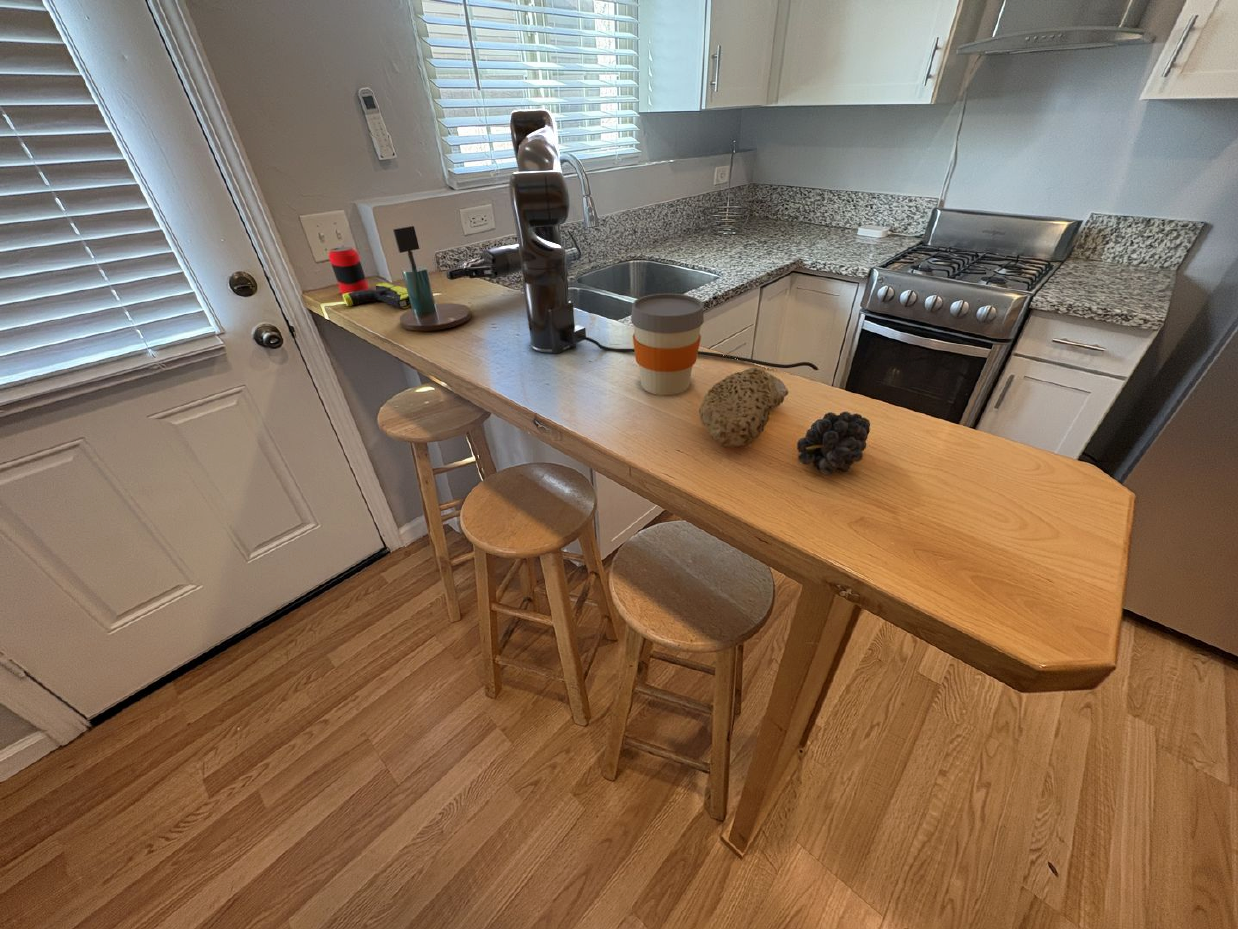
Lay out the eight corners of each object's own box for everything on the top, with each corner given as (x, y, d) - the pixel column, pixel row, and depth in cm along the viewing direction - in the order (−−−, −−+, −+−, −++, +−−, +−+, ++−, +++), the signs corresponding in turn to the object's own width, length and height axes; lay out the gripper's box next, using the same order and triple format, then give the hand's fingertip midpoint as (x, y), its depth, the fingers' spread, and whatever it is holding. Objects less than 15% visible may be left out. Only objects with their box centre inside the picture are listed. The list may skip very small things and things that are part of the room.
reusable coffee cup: (675, 406, 85) (680, 321, 76) (618, 387, 91) (616, 307, 82) (710, 380, 93) (718, 300, 84) (655, 364, 99) (657, 289, 90)
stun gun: (370, 306, 124) (422, 292, 134) (335, 293, 134) (386, 280, 144) (374, 318, 126) (425, 303, 135) (339, 303, 136) (389, 290, 145)
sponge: (733, 396, 90) (665, 416, 76) (750, 357, 85) (682, 371, 72) (793, 434, 83) (732, 463, 70) (815, 394, 79) (754, 417, 66)
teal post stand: (484, 316, 123) (468, 228, 111) (424, 336, 113) (399, 241, 101) (446, 303, 132) (427, 220, 121) (388, 320, 122) (361, 232, 110)
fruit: (859, 379, 71) (808, 414, 63) (909, 413, 68) (862, 455, 60) (828, 421, 78) (777, 458, 69) (872, 454, 75) (825, 497, 66)
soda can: (352, 288, 149) (338, 245, 142) (374, 288, 147) (361, 246, 140) (336, 295, 143) (320, 251, 136) (359, 296, 141) (344, 252, 134)
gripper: (485, 244, 137) (430, 256, 126) (515, 250, 130) (459, 263, 119) (489, 271, 141) (437, 285, 131) (519, 279, 134) (466, 294, 124)
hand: (448, 275), depth 125 cm, fingers closed
